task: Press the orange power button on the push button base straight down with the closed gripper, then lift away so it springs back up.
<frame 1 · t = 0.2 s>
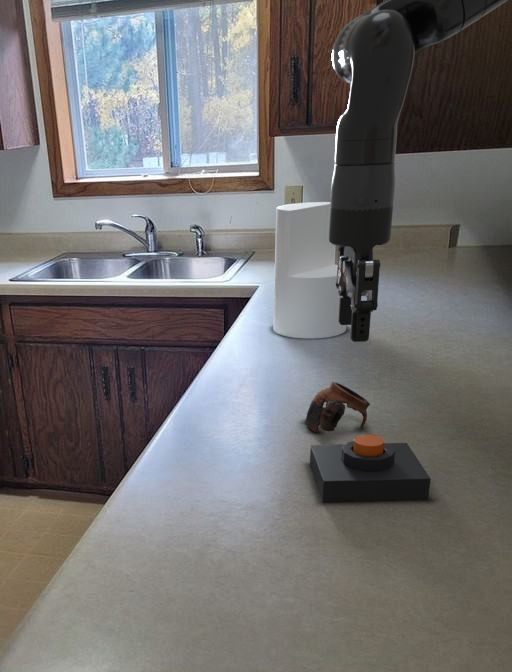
hand: (352, 332, 98), 21 cm above the worktop, tool pointing down, fingers open, 8 cm apart
power button: (368, 446, 102), point 5 cm above the worktop, slide at 0.1 cm
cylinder: (309, 329, 179), on the worktop
broken clay vessel: (333, 429, 123), on the worktop
push button base: (365, 481, 105), on the worktop
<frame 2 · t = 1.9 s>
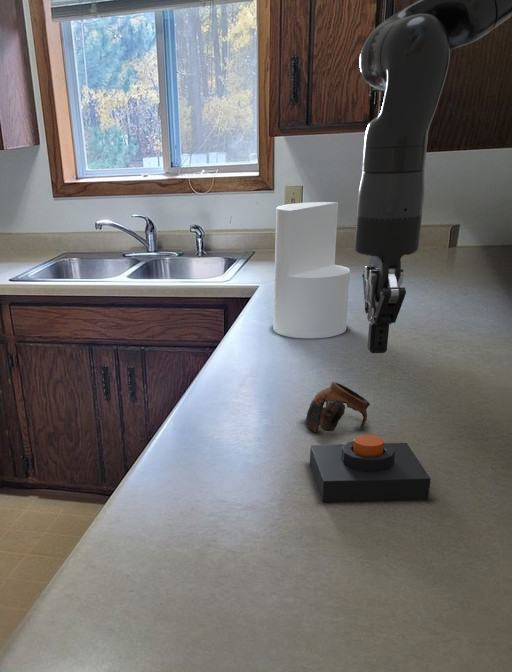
hand: (376, 351, 96), 19 cm above the worktop, tool pointing down, fingers closed
nothing on the worktop moved.
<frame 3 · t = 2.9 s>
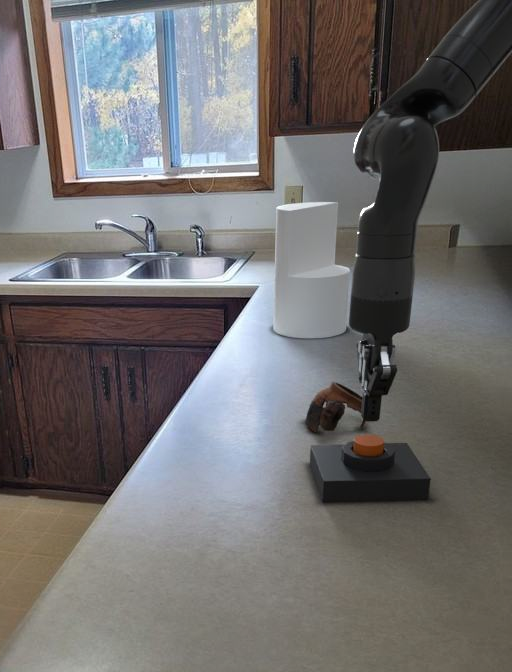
hand: (369, 419, 101), 9 cm above the worktop, tool pointing down, fingers closed
nothing on the worktop moved.
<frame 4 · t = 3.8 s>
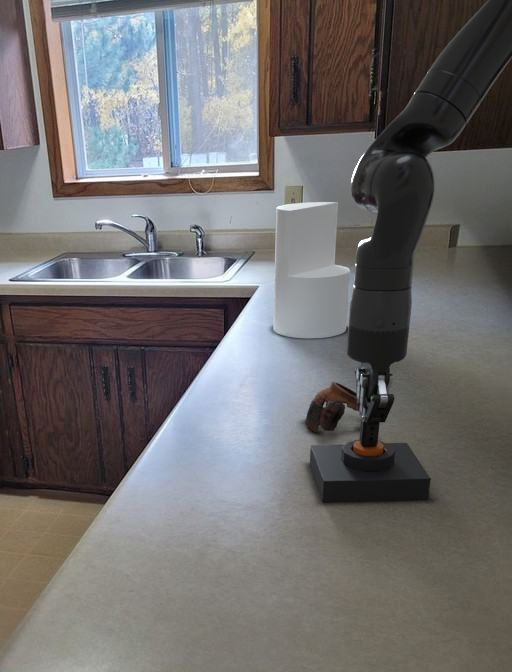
hand: (368, 444, 102), 6 cm above the worktop, tool pointing down, fingers closed
power button: (368, 450, 103), point 5 cm above the worktop, slide at -0.6 cm, touching gripper
everything else where it was.
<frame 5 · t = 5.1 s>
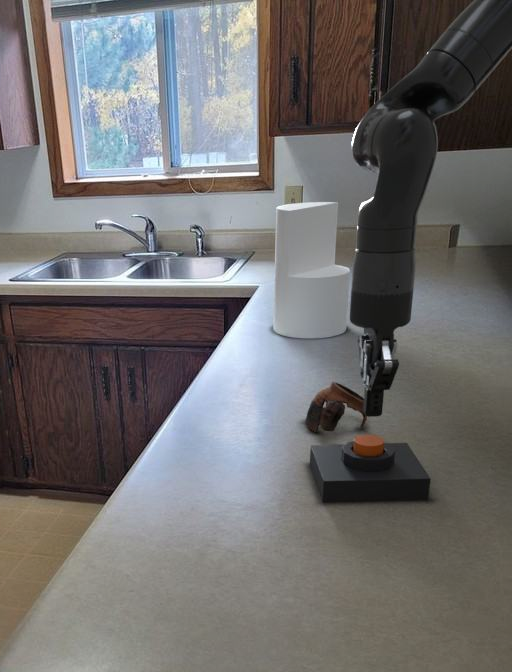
hand: (372, 414, 100), 10 cm above the worktop, tool pointing down, fingers closed
power button: (368, 446, 102), point 5 cm above the worktop, slide at 0.1 cm
everything else where it was.
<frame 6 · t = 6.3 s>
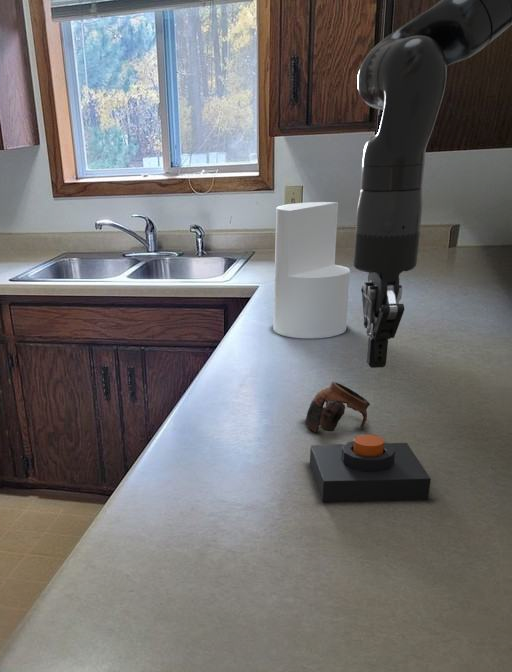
hand: (375, 365, 97), 17 cm above the worktop, tool pointing down, fingers closed
nothing on the worktop moved.
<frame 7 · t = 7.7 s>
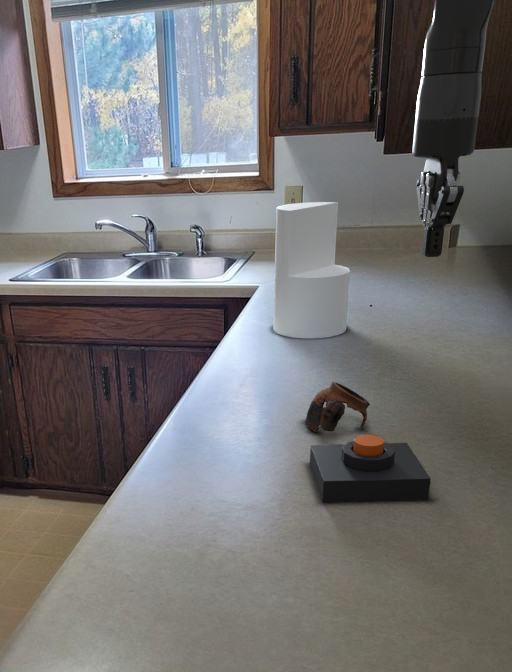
hand: (431, 255, 101), 29 cm above the worktop, tool pointing down, fingers closed
nothing on the worktop moved.
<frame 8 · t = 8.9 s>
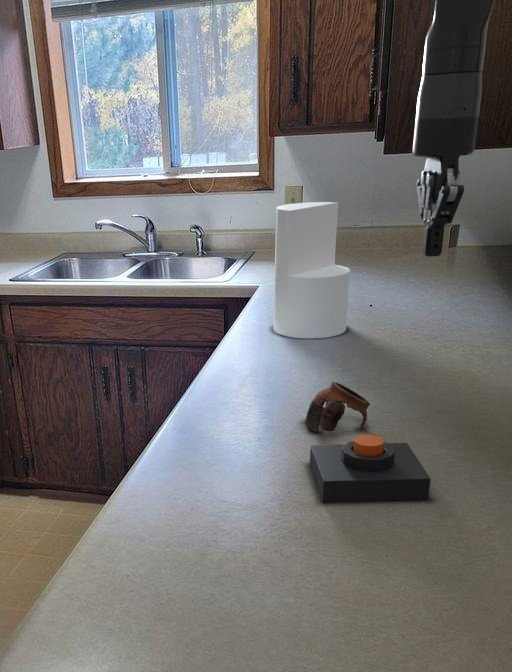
hand: (431, 255, 101), 29 cm above the worktop, tool pointing down, fingers closed
nothing on the worktop moved.
at the end: power button pushed in 1.1 cm at the most during the clip, back to where it started at the end; power button slide at 0.1 cm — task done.
